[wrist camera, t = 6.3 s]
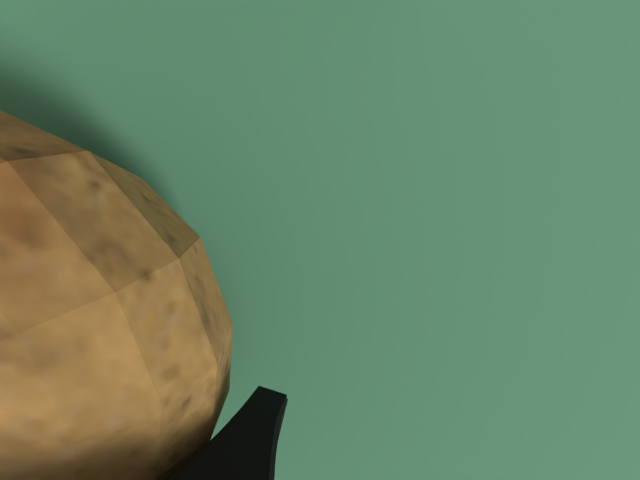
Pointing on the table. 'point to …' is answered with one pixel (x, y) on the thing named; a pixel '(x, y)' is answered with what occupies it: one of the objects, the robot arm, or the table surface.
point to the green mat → (385, 211)
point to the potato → (101, 320)
